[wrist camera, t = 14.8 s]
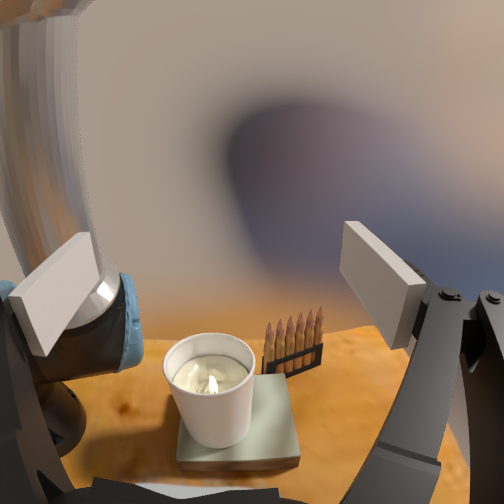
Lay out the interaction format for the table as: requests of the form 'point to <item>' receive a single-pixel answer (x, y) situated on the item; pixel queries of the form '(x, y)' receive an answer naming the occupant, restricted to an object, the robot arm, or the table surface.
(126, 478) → the table surface
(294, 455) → the stand
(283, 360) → the ammunition clip
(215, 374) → the white cup
